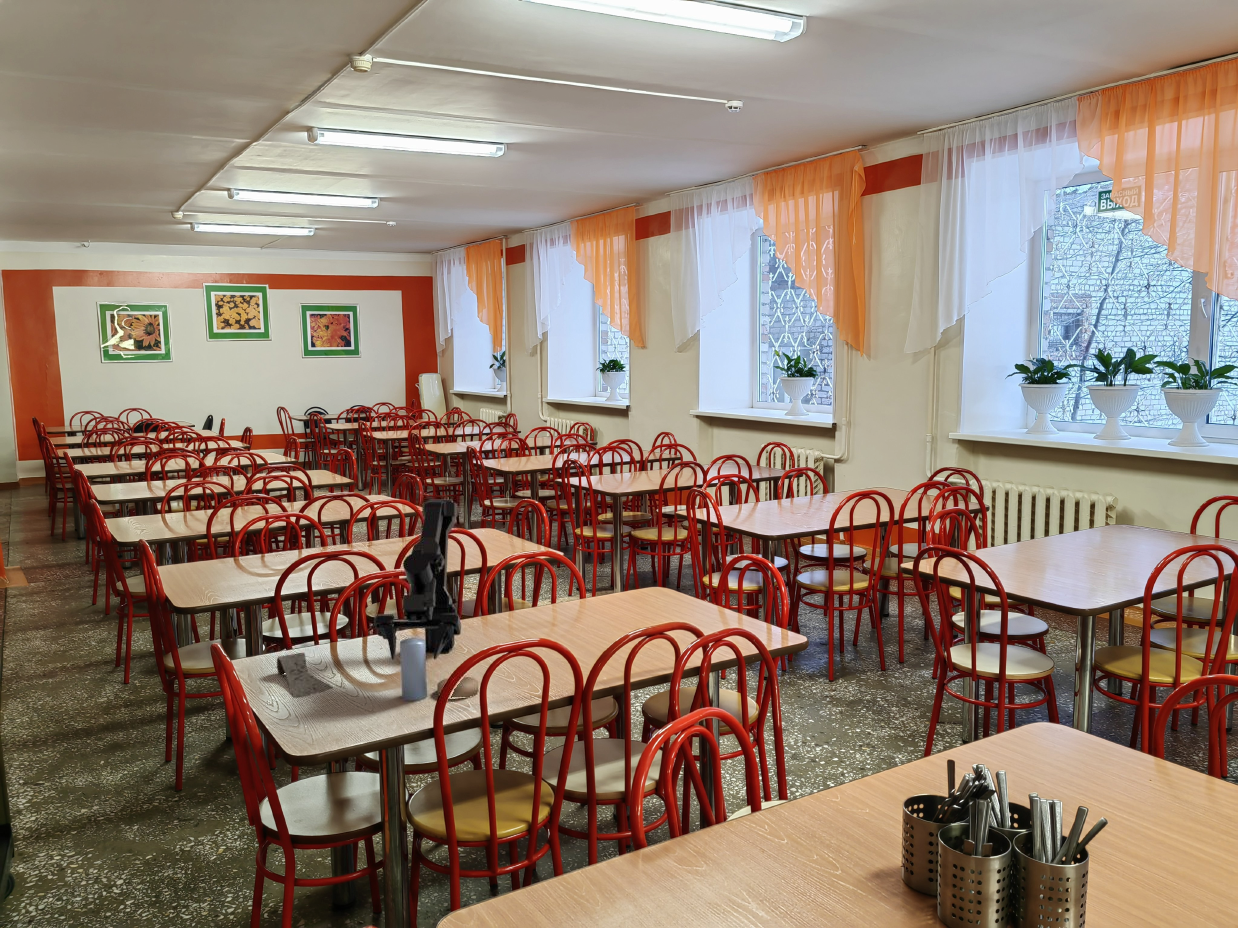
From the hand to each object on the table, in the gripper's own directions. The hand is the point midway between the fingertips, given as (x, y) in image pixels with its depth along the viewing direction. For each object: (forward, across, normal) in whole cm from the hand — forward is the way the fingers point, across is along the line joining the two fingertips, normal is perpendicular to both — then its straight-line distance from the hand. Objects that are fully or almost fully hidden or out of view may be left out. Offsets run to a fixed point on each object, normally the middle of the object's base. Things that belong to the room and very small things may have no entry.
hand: (413, 658), depth 206 cm
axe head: (-1, -27, +13) cm, 31 cm away
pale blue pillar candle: (+6, 0, +6) cm, 8 cm away
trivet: (+5, +9, +7) cm, 12 cm away
